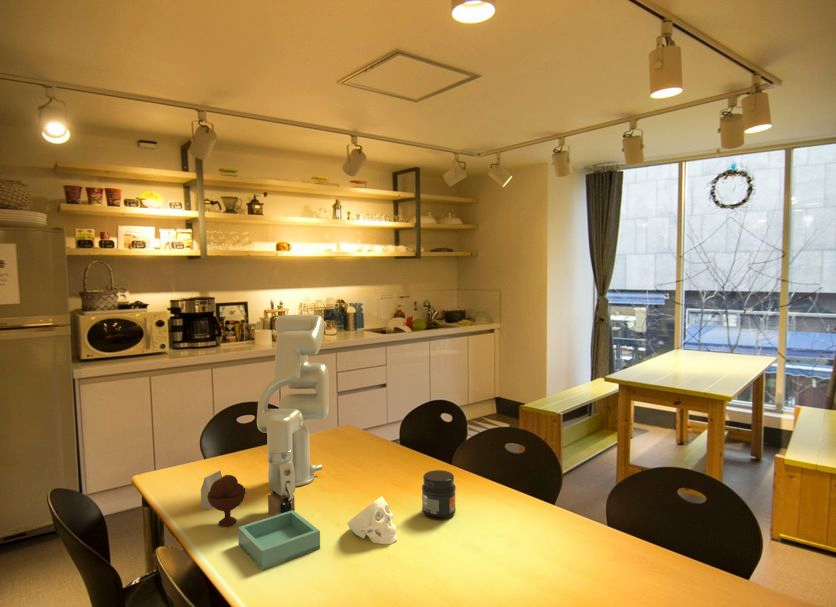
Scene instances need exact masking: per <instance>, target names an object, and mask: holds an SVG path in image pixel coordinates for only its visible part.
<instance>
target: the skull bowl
mask: <svg viewBox="0 0 836 607" xmlns="http://www.w3.org/2000/svg"><path fill="white" fill-rule="evenodd" d="M393 520H394V514H393V513H392V511H391V510H390V507H389V504H388V503H387V502H386V500H385V499H384V497H383V496H380V497H378V498H377V499H376V500H375V501H373V502H371V503H370V504H369V505H368V506H366V507H365V508H364V509H363V510H361V511H360V512H359V513H357V514H356V515H355V516H354V517H353V518H352V519H350V520H349V521H348V522H347V526H348V529H350V530H351V531H352V533H354V534H355V535H356V536H359V537H360V538H361V539H364V538H366V536H368V537H369V539H370V541H371V542H373V544H377V545H378V544H379V545H392V544H394V543H395V542H396V541H397V540H398V536H397V535H396V533H397V532H396V531H397V527H396V525H395V524H394V523H393ZM377 533H379V534H377Z"/></svg>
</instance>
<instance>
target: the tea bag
mask: <svg viewBox="0 0 836 607" xmlns="http://www.w3.org/2000/svg"><path fill="white" fill-rule="evenodd" d="M222 477H223V474H222V473H221V470H218V471H216V472H214V473H212V474H210V475H207V476H206V477H204V478H203V482H202V485H201V488H200V504H201V509H207V510H212V509H215V508H214V507H212V506H211V505H210V503H209V501H208V492H210V489H211V486H212V484H213V483H214V482H215V481H217V480H218V479H220V478H222Z"/></svg>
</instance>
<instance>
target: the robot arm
mask: <svg viewBox="0 0 836 607" xmlns="http://www.w3.org/2000/svg"><path fill="white" fill-rule="evenodd" d="M274 326H275V331H276V334H277V337H276V341H275V354H274V357H275V358H274V372H273V377H272V379H271V380H270V381H269V382H268V383H267V384H266V385H265V386H264V388H263V390H262V391H261V393H260V395H259V398H258V402H257V411H256V412H257V413H256V425H257V429H258V430H259V431H260V432H261V433H265V434H266V436H267V437H266V438H267V443H266V444H267V463H268V472H267V473H268V474H267V475H268V486H269V489H270V494H274V493H278V494H279V495H281V501H282V504H281V514H282V513H285V512H288V511H291V503H292V498H293V497H294V498H295V495H294V493H296V487H302V486H305V485H308V484H311V483H312V482H313V481H314V480H315V472H317V471H323V465H322V464H318V465H317V464H316V463H315V464H311V460H310V459H311V453H310V452H311V450H310V449H311V445H310V430H309V428H308V426H307V425H306V422H304V421H320V420H324V419H326V418H327V417H328V414H329V411H330V410H329V408H330V396H329V395H330V379H329V377H330V376H329V370H328V367H327V365H326V364H325V363H322V362H321V363H320V362H309V356H316V355H317V354H319V352H320V350H321V346H322V342H323V336H324V333H325V320H324V318H323V317H322V315H319V314H286V315H285V314H284V315H281V316H278V317H277V318H276V320H275V322H274ZM284 387H286V388H287V389H289V390H295V391H297V390H300V391H301V390H306V391H307V390H313V391H315V392H312V393H311V392H310V393H309V392H307V393H305V392H301V393H288V394H285V395H283V396H282V397H281V398H280V400H279V403H278V408H268V407H269V403H270V402H269V401H270V399H271V397H273V395H274V394H275V393H276V392H277V391H279V390H280V389H282V388H284ZM285 491H287V493H283V492H285ZM285 495H288V496H287V497H286V498H285V500H284V496H285Z"/></svg>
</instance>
